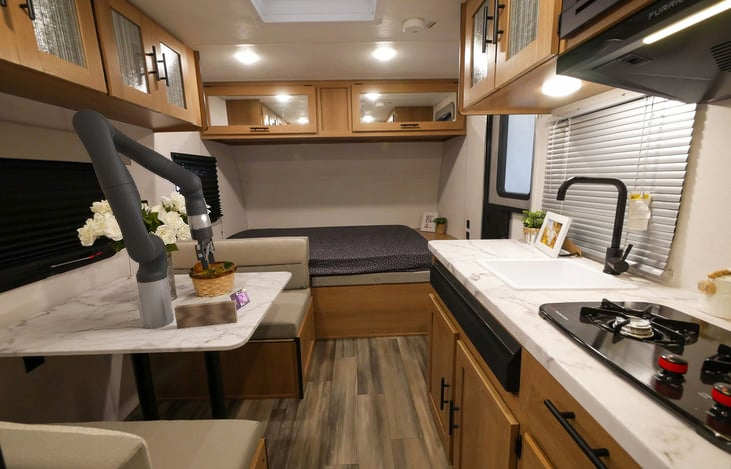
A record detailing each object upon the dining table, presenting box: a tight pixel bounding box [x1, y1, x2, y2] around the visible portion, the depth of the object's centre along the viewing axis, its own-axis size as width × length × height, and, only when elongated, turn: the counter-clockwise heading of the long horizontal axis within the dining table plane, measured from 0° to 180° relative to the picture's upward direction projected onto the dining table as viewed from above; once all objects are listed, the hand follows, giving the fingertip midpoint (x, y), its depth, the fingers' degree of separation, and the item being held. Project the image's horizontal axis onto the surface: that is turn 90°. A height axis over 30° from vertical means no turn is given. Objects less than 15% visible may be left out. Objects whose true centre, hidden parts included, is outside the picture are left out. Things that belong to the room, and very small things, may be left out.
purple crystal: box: [229, 287, 251, 311], centre depth 130 cm, size 7×5×9 cm
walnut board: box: [173, 300, 238, 330], centre depth 113 cm, size 20×2×8 cm, turn 102°
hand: (209, 266), depth 122 cm, fingers open, 8 cm apart
